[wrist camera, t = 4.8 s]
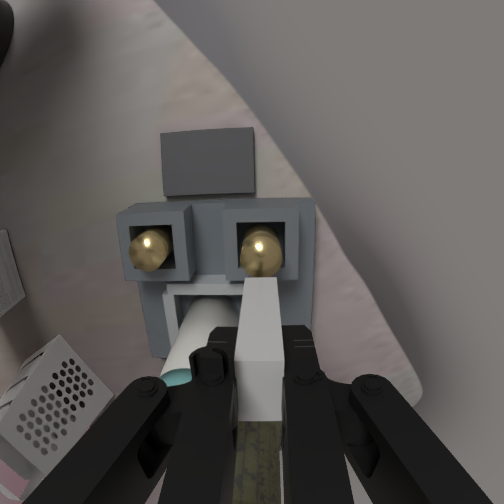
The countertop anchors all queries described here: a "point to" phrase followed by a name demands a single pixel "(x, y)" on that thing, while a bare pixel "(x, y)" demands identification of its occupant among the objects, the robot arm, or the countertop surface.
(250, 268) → the plunger
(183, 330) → the cartridge
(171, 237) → the plunger
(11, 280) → the supplement box
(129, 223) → the housing
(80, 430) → the grater
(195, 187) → the mat
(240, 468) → the thermos
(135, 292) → the countertop surface
